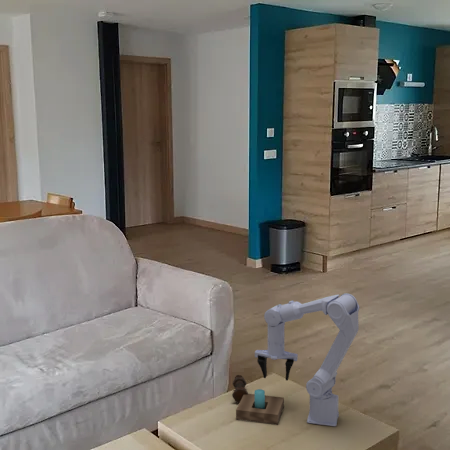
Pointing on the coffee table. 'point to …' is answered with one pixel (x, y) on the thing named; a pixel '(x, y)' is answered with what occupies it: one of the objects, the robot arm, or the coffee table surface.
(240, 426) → the coffee table surface
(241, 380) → the bolt
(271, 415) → the bore block
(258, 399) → the pin
